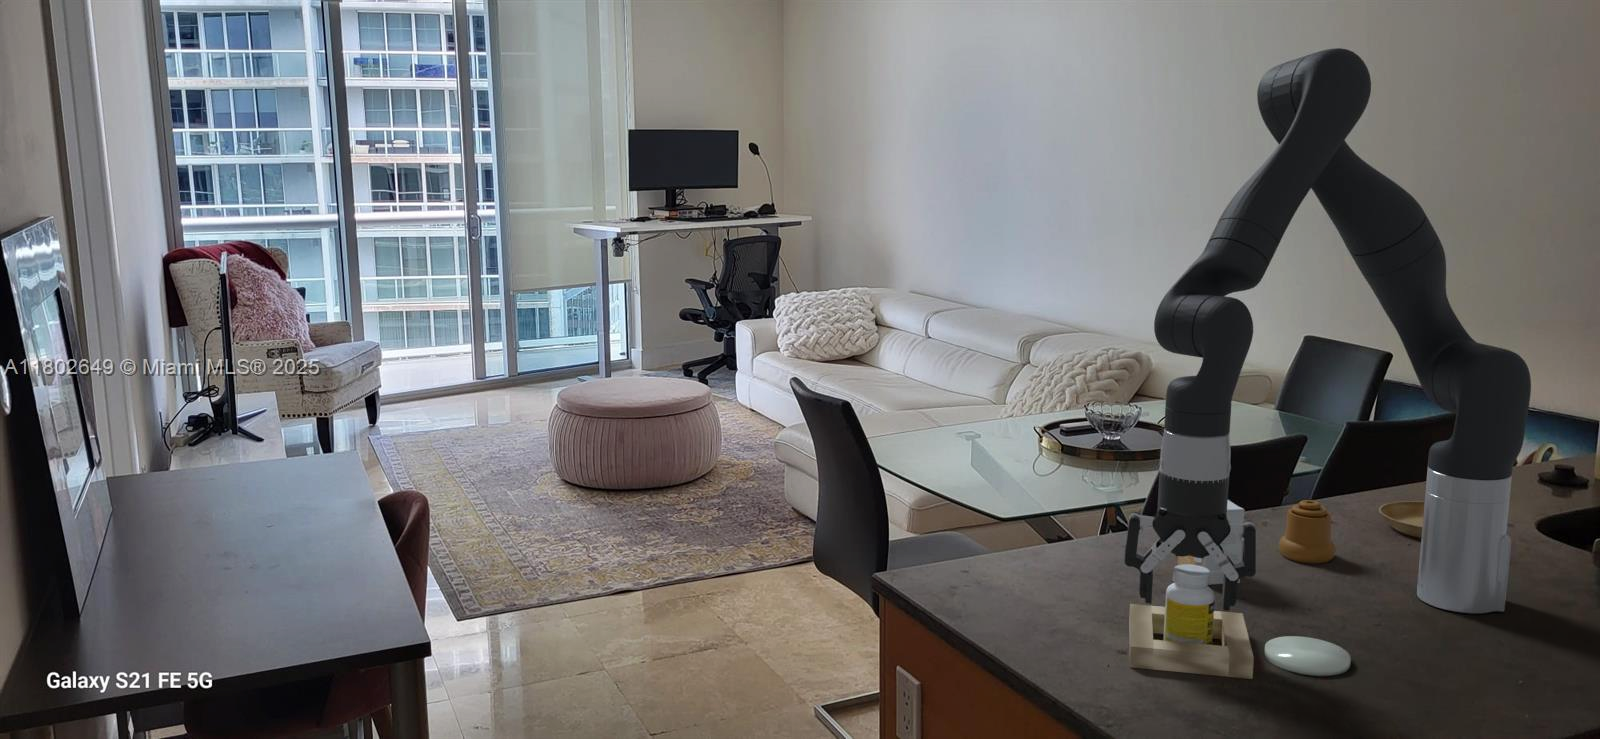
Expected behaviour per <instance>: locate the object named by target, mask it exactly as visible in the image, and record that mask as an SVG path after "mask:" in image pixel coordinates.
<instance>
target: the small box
mask: <svg viewBox="0 0 1600 739" xmlns="http://www.w3.org/2000/svg"><path fill="white" fill-rule="evenodd" d="M1245 512H1246V511H1245V509H1244V508H1243V507H1240V506H1239V505H1237V504H1235V503H1234V502H1232V501H1231V500H1230V499H1228V502H1227V519H1228V521H1229V523H1243V522H1244V521H1245V515H1246V513H1245ZM1221 546H1222V547H1223V548H1224V550H1225V551H1226V553H1227V555H1228V556H1229V557H1230V559H1231V560H1232V562H1233V563H1234V564H1237V563H1242V543H1241V542H1239V541H1237V539H1236V535H1235V534H1234V533H1230V534H1229V535H1228V536H1227V537H1226V538H1225V540H1224V541H1223V542H1222V543H1221ZM1183 564H1191V565H1198V566H1202V567H1205V568H1207V569H1208V570H1209V571H1210V581H1209V584H1208V585H1207V586H1210V585H1223V576H1224V574H1225V573H1224V572H1223V571H1222V569H1221V568H1220V567H1219V566H1218V565H1217V563H1216V562H1215V561H1214V559H1213V558H1212V557H1211V555H1209V556H1206V557H1204V558H1196V557H1193V556H1183V557H1181V556H1177V566H1178V565H1183ZM1240 583H1241V578H1240V579H1239V580H1238V583H1237V584H1240Z"/></svg>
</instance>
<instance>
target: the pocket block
mask: <svg viewBox="0 0 1600 739" xmlns="http://www.w3.org/2000/svg"><path fill="white" fill-rule="evenodd" d="M1128 620H1129V622H1128V624H1129V625H1128V627H1129V629H1128V630H1129V632H1128V633H1129V635H1128V636H1129V638H1128V639H1129V640H1128V641H1129V668H1134V669H1145V670H1154V671H1165V672H1167V671H1168V672H1176V673H1185V674H1187V673H1188V674H1197V675H1207V676H1216V677H1217V676H1218V677H1228V678H1236V679H1237V678H1238V679H1249V680H1253V678H1254V677H1253V676H1254V660H1255V659H1254V657H1255V656H1254V654H1253V649H1252V645H1251V641H1250V637H1249V633H1248V629H1247V625H1246V621H1245V617H1244V614H1243V613H1242V612H1233V611H1232V612H1231V611H1230V612H1229V611H1219V610H1218V611H1217V610H1214V618H1213V635H1212V640H1213V639H1214V640H1215V639H1216V640H1220V642H1221V645H1216V644H1212V645H1207V644H1196V643H1185V642H1174V641H1163V639H1161V640H1160V639H1154V634H1156V635H1157V634H1160V635H1164V620H1165V606H1160V605H1159V606H1158V605H1149V604H1148V605H1147V604H1137V603H1136V604H1135V603H1130V604H1129V619H1128Z"/></svg>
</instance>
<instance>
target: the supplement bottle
mask: <svg viewBox="0 0 1600 739" xmlns="http://www.w3.org/2000/svg"><path fill="white" fill-rule="evenodd" d="M1172 580H1173V583H1171V584H1169V585H1168V587H1166V589H1165V590H1166V591H1165V604H1164V607H1165V620H1164V634H1163V639H1162V640H1163V641H1174V642H1185V643H1196V644H1207V645H1213V638H1212V635H1213V618H1214V611H1215V601H1216V600H1215V598H1216V597H1215V593H1214V590H1213V589H1212V588H1210V587H1209V585H1208V584H1209V581H1210V571H1209V570H1208V569H1207V568H1205V567H1202V566H1198V565H1191V564H1183V565H1178V564H1177V565H1175V566H1174V567H1173V575H1172Z"/></svg>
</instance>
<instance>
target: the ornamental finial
mask: <svg viewBox="0 0 1600 739" xmlns="http://www.w3.org/2000/svg"><path fill="white" fill-rule="evenodd" d="M1286 514H1287V515H1286V521H1285V522H1286V523H1285V524H1286V525H1285V533H1284V535H1283V536H1282V537H1281V538H1280V539H1279V542H1278V549H1279V552H1280V554H1282V556H1283V557H1284V558H1287V560H1291V561H1295V562H1297V563H1301V564H1303V563H1304V564H1313V565H1314V564H1324V563H1328V562H1330V561H1331V560H1333V559H1334V557H1335V555H1336V553H1337V550H1336V548H1337V547H1336V545H1335V543H1334V542H1333V541H1332V540H1331V538H1332V536H1331V535H1332V514H1331V513H1330V512H1329V511H1328V509H1327V507H1324V506H1322V505H1321V502H1318V501H1316V500H1308V499H1305V500H1304V499H1303V500H1300V501H1299V503H1296V504H1293V506H1291V507H1290V508H1288V509H1287V513H1286Z"/></svg>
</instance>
